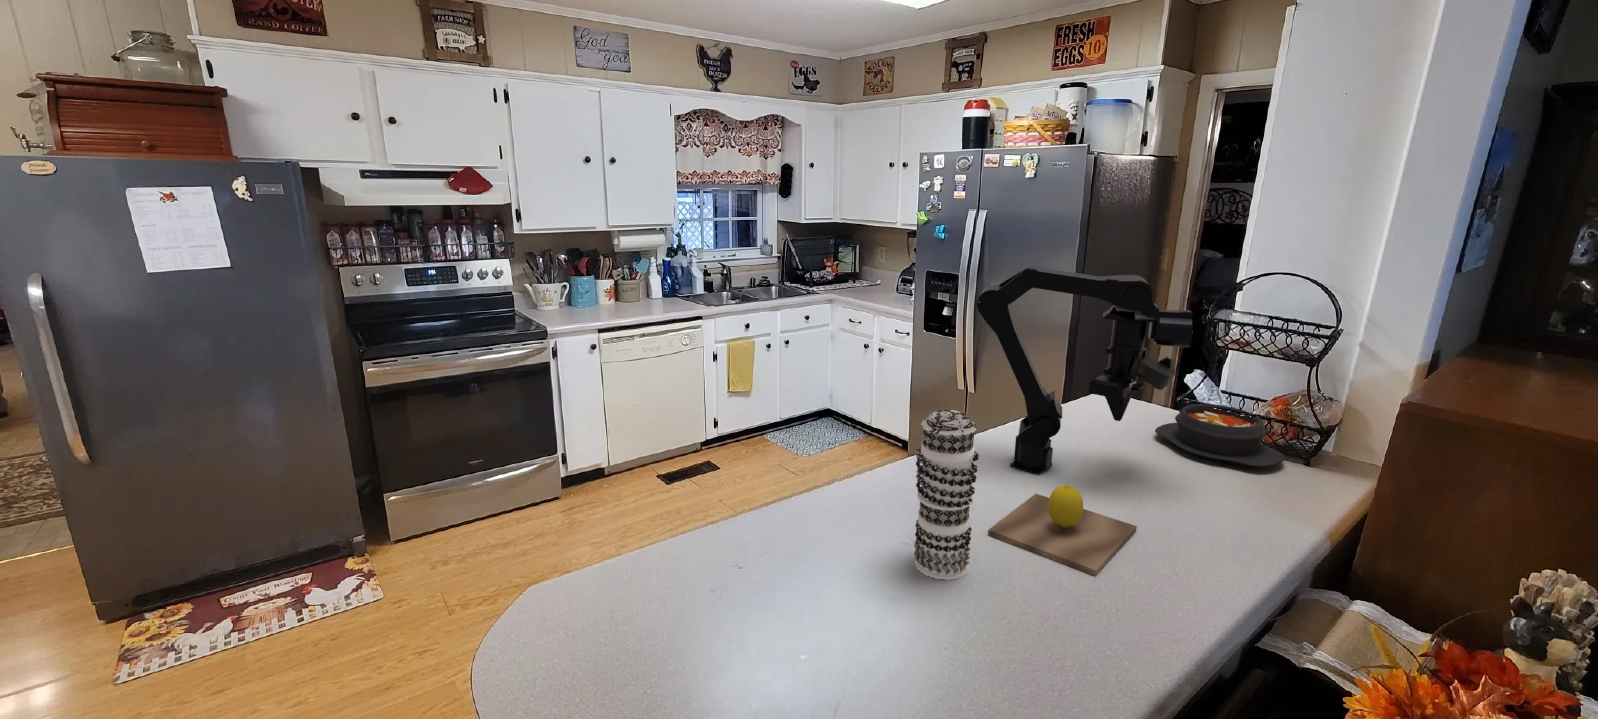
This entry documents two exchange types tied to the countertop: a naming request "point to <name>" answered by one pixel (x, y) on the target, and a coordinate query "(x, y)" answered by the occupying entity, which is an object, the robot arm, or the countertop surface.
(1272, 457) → the casserole
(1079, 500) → the lemon
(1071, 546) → the walnut board
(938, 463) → the decorative candle
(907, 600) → the countertop surface
